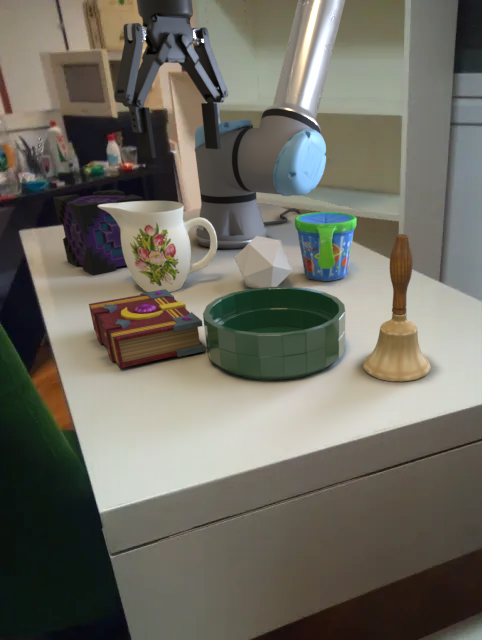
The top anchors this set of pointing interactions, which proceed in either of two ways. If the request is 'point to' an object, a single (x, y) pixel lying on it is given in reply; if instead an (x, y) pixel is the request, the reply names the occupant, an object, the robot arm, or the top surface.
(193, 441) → the top surface
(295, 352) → the bowl
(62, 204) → the energy cube
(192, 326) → the decorative book
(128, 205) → the pitcher
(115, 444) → the top surface
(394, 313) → the hand bell
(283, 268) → the die
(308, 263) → the snack cup
